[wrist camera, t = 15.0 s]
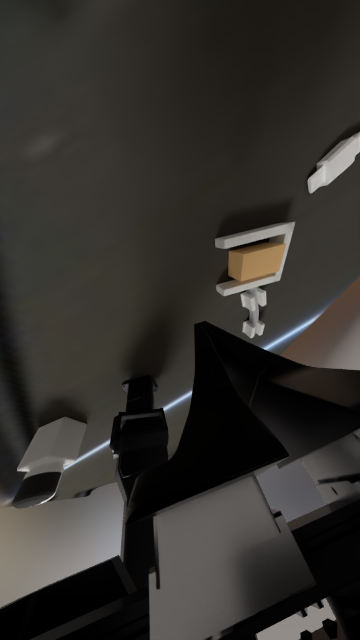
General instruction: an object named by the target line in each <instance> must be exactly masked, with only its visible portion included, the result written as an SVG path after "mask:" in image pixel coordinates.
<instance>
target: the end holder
mask: <svg viewBox="0 0 360 640" xmlns="http://www.w3.org/2000/svg"><path fill="white" fill-rule="evenodd" d="M294 225H295V222H286V223H277V224H273V225H269V226H265V227H261V228H256V229H252V230H248V231H244V232H240V233H236V234H232V235H228V236H224V237H220V238H216V239H215V247H217V248H222V249H226V248H230V247H234V246H238V245H242V244H246V243H250V242H253V241H257V240H261V239H265V238H269V237H270V239H269V242H272V243H285V244H286V247H285V251H284V254H283V258H282V262H281V266H280V270H279V271H278V272H275V273H271V274H267V275H264V276H260V277H256V278H253V279H249V280H245V281H242V282H240V281H238V280H236V279H235V280H231V281H228V282H224V283H221V284H217V285H216V290H217V291H218V292H219V293H220V294H222V295H223V296H227V295H230V294H234V293H237V292H240V291H244V290H247V289H251V288H254V287H258V286H261V285H265V284H268V283H272V282H275V281H279V280H280V277H281V274H282V270H283V266H284V262H285V259H286V255H287V251H288V247H289V244H290V240H291V236H292V232H293V229H294Z"/></svg>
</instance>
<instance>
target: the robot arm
mask: <svg viewBox="0 0 360 640" xmlns="http://www.w3.org/2000/svg"><path fill="white" fill-rule="evenodd" d="M194 338H195V375H194V384H193V391H192V398H191V405H190V410H189V414H188V417H187V420H186V423H185V426H184V429H183V433H182V436H181V439H180V442H179V445H178V448H177V450H176V452H175V454H174V455H173V457H172V458H171V459H169V460H168V451H167V446H168V427H167V423H166V419H165V414H164V410H163V408H160V409H154V396H153V392H155V391H157V387H156V385H155V383H154V382H153V380H152V378H151V377H150V376H145V377H142V378H139V379H136V380H133V381H130V382H127V383H124V384H122V388H123V389H124V390H125V391H126V392H127V393H128V394H127V404H126V412H119V415H117V416H116V417H114V421H113V428H112V434H111V440H110V446H109V447H110V448H111V449H112V453H113V459H115V458H117V464H116V473H115V478H116V481H117V483H118V486H119V489H120V492H121V494H122V497H123V500H124V513H123V527H122V541H121V555H120V556H119V555H118V556H115V557H113V558H111V559H109V560H106V561H104V562H102V563H99V564H97V565H95V566H92V567H90V568H88V569H85V570H83V571H80V572H78V573H76V574H73V575H71V576H69V577H66V578H64V579H62V580H60V581H57V582H55V583H52V584H50V585H48V586H45V587H43V588H41V589H39V590H37V591H35V592H32V593H30V594H28V595H26V596H24V597H22V598H19V599H17V600H15V601H13V602H11V603H9V604H7V605H5V606H3V607H1V608H0V640H258V639H257V635H256V634H257V633H259V632H260V631H263V630H264V629H266V628H268V627H270V626H272V625H274V624H276V623H278V622H280V621H282V620H284V619H286V618H288V617H290V616H292V615H293V614H297V615H299V616H301V617H306V616H307V607H309V606H314V607H316V608H318V609H321V608H323V607H324V605H323V600H322V599H324V598H326V599H327V601H328V603H329V605H330V607H331V609H332V611H333V613H334V615H335V617H336V620H335V621H332V620H330V619H326V620H324V621H322V624H323V627H322V628H320V629H318V630H316V631H314V632H312V633H311V632H309V631H307V630H305V631H303V632H301V633H300V634H301V639H299V640H360V370H346V369H329V368H316V367H310V366H306V365H303V364H300V363H297V362H294V361H292V360H289V359H286V358H284V357H282V356H279V355H277V354H274V353H272V352H269V351H267V350H264V349H262V348H260V347H258V346H256V345H253V344H251V343H249V342H247V341H245V340H243V339H241V338H239V337H237V336H235V335H233V334H231V333H229V332H227V331H225V330H223V329H221V328H219V327H217V326H215V325H213V324H211V323H208V322H206V321H203V322H200V323H197V324H194ZM121 426H122V428H120V427H121ZM299 460H300V461H301V462H302V464H303V465H304V467H305V468H306V470H307V471H308V473H309V474H310V475H311V477H312V478H313V480H314V481H315V483H316V485H315V487H316V489H317V490H318V492H319V493H320V495H321V496H322V498H323V499H324V501H325V502H326V504H327V505H325V506H323V507H321V508H319V509H316V510H314V511H312V512H310V513H308V514H305V515H303V516H301V517H299V518H297V519H294V520H292V521H290V522H288V523H286V521H285V519H284V517H283V515H282V513H281V512H280V511H279V510H275V509H270V507H269V505H268V502H267V501H266V498H265V496H264V494H263V492H262V489H261V487H260V485H259V483H258V481H257V478H256V476H258V475H260V474H261V473H263V472H265V471H266V470H268V469H270V468H271V467H273V466H275V465H276V464H277V466H278V467H279V469H280V468H282V467H284V466H287V465H290V464H292V463H294V462H297V461H299Z"/></svg>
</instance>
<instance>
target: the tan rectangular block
mask: <svg viewBox="0 0 360 640" xmlns="http://www.w3.org/2000/svg"><path fill="white" fill-rule="evenodd" d="M285 247H286V244H285V243H272V242H265V243H261V244H257V245H253V246H249V247H245V248H241V249H237V250H233V251H229V266H228V276H230V277H232V278H234V279H236V280H238V281H240V282H242V281H245V280H249V279H253V278H256V277H260V276H264V275H267V274H271V273H275V272H278V271H279V270H280V266H281V262H282V258H283V254H284V251H285Z"/></svg>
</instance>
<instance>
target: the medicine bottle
mask: <svg viewBox="0 0 360 640" xmlns="http://www.w3.org/2000/svg"><path fill="white" fill-rule="evenodd" d="M86 426H87V424H85V423H82V422H80V421H77V420H74V419H71V418H68V417H66V416H65V417H63V418H60V419H58V420H56V421H53V422H51V423H49V424H46V425H44V426H42V427H40V428H39V429H38V430H37V432H36V434H35V436H34V438H33V440H32V442H31V444H30V445H29V447H28V449H27V451H26V453H25V455H24V457H23V459H22V460H21V462H20V464H19V466H18V468H17V471H28V473H27V474H26V475H25V477H24V479H23V481H22V483H21V485H20V488H19V490H18V492H17V494H16V496H15V498H14V500H13V502H12V505H13V506H14V507H15V508H26V507H31V506H35V505H39V504H42V503H44V502H46V501H48V500H49V499H51V498H52V497H53V496H54V495H55V493H56V491H57V488H58V485H59V482H60V479H61V476H62V473H63V470H64V468H63V466H65V465H67V464H70V463H72V462H74V461H76V459H77V456H78V453H79V449H80V446H81V443H82V439H83V436H84V432H85V429H86Z"/></svg>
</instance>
